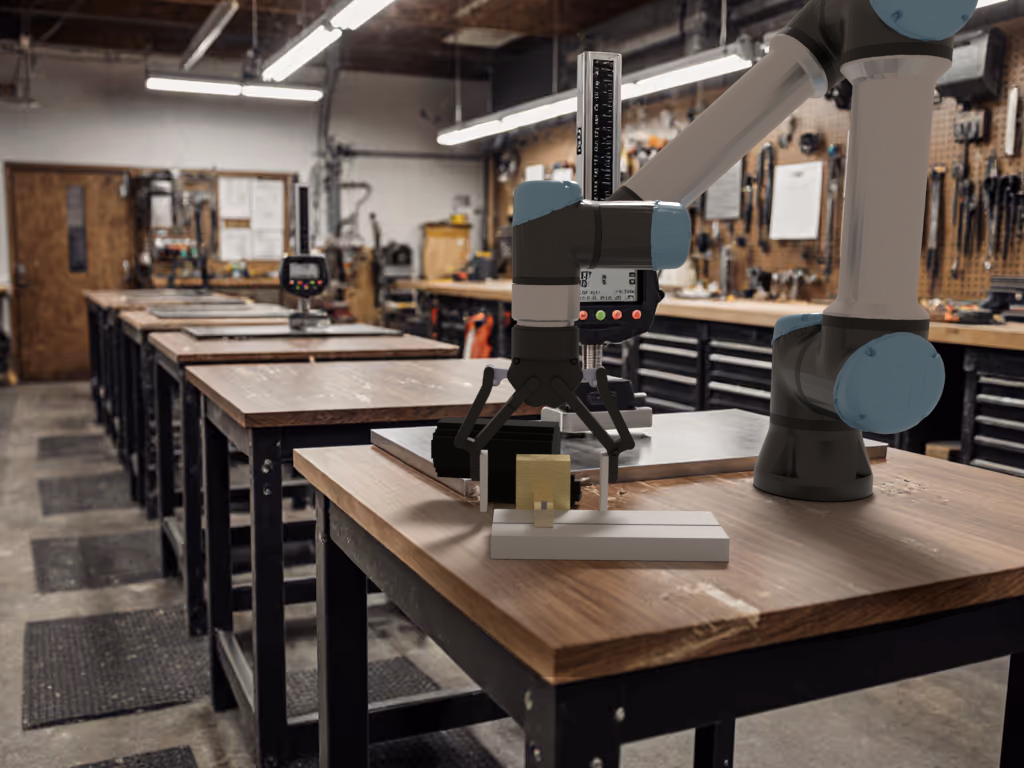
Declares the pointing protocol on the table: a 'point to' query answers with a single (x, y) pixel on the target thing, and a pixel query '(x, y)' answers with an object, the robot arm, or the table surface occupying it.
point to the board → (610, 536)
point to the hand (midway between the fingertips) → (543, 509)
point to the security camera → (498, 453)
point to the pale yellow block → (543, 485)
